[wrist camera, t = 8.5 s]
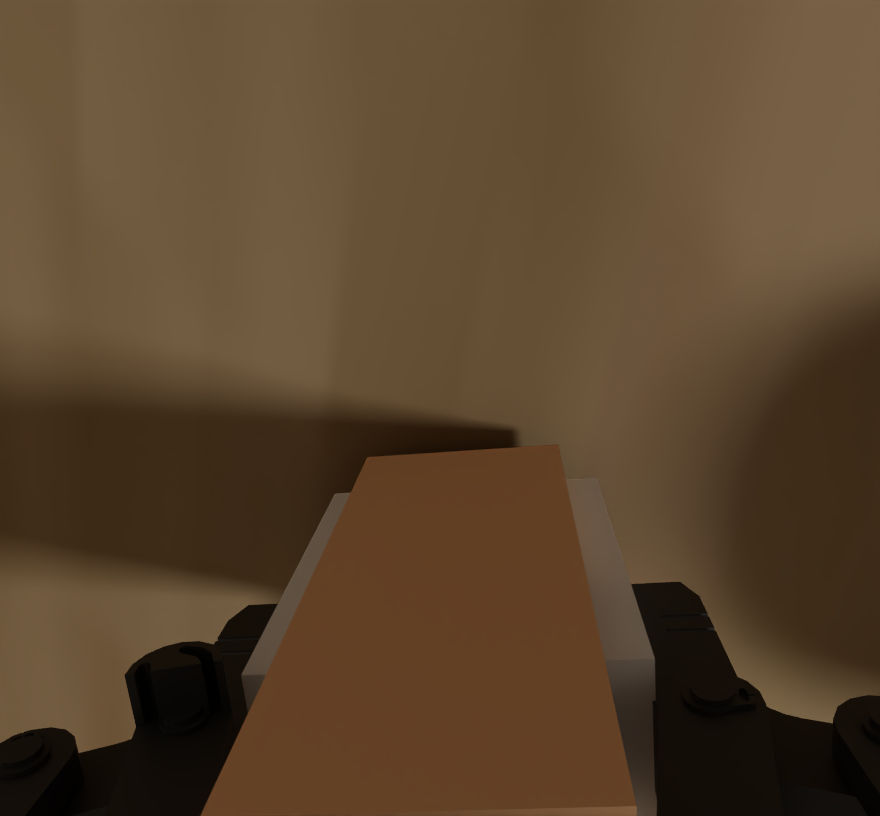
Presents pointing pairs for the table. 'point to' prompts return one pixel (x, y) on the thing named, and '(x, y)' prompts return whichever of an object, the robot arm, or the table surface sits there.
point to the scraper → (439, 657)
